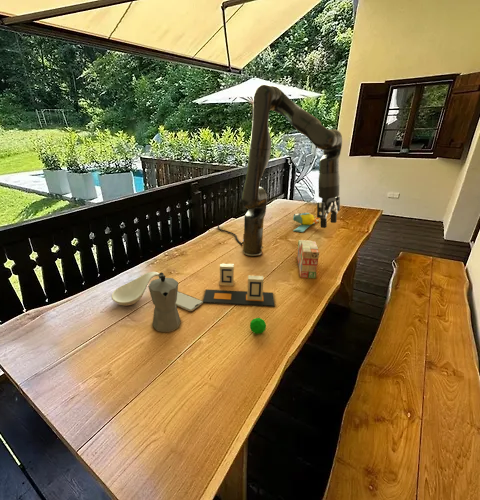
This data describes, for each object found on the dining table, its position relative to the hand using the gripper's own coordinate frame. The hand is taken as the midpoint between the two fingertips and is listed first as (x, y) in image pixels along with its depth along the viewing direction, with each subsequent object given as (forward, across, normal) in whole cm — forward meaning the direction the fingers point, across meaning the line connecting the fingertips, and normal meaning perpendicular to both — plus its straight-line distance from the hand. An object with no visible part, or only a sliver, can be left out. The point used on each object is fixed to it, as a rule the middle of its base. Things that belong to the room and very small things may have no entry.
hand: (328, 225), depth 121 cm
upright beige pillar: (+20, +36, -11) cm, 43 cm away
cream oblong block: (+19, +35, -26) cm, 48 cm away
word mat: (+20, +40, -15) cm, 48 cm away
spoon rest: (+16, +65, -43) cm, 80 cm away
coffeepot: (+19, +69, -22) cm, 75 cm away
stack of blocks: (+21, -1, -11) cm, 24 cm away
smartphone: (+18, +57, -29) cm, 66 cm away
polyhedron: (+22, +51, +2) cm, 56 cm away
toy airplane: (+18, -55, -43) cm, 72 cm away
